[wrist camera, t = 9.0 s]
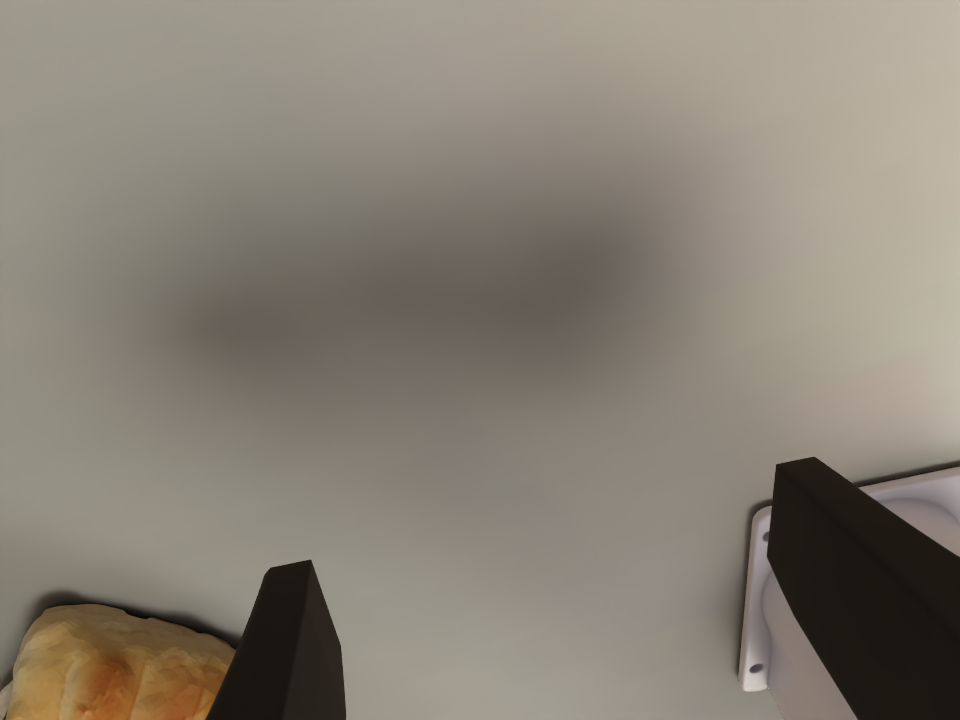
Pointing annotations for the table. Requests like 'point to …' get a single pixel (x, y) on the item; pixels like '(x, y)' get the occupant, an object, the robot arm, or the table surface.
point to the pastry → (113, 668)
